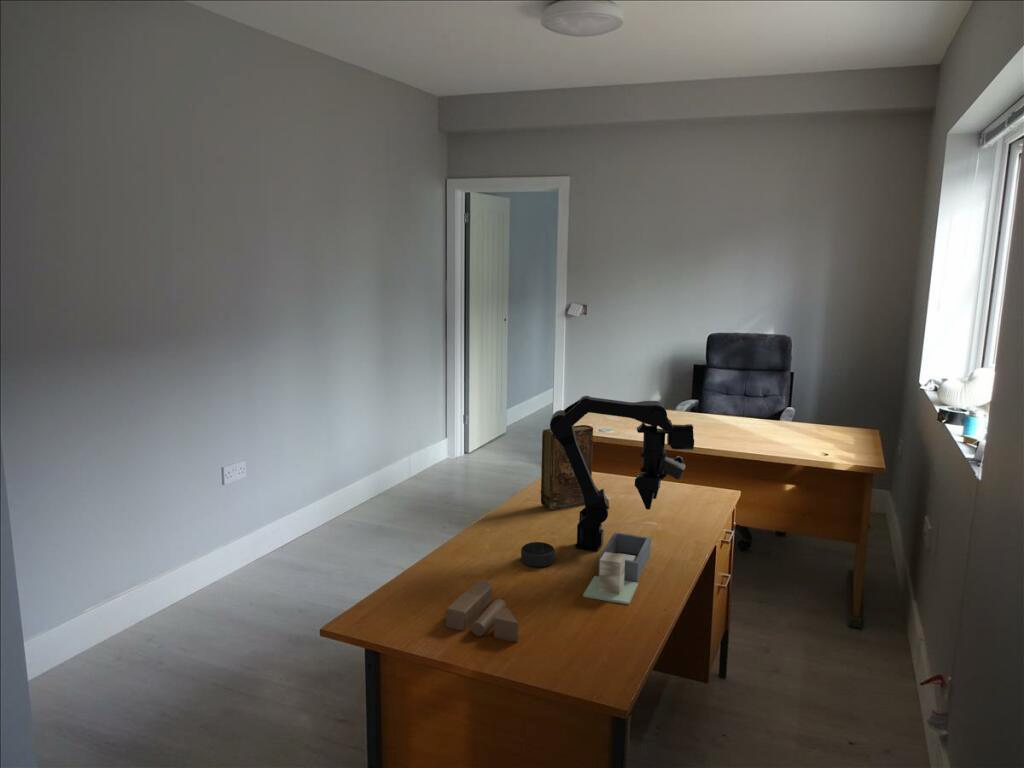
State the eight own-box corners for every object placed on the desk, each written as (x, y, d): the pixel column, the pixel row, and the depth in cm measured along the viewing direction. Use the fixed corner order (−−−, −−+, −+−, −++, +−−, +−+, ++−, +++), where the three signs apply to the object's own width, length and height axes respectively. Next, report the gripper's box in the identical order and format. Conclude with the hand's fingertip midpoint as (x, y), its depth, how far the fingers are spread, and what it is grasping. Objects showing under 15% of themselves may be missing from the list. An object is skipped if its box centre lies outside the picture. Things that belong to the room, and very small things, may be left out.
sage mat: (583, 596, 182) (583, 594, 182) (594, 578, 192) (594, 575, 192) (628, 604, 178) (629, 602, 178) (638, 585, 188) (638, 582, 188)
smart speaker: (514, 561, 201) (514, 547, 201) (536, 552, 208) (536, 538, 207) (539, 571, 195) (539, 557, 195) (561, 561, 202) (561, 547, 201)
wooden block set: (443, 606, 165) (478, 573, 182) (443, 630, 166) (478, 595, 183) (516, 621, 159) (545, 586, 175) (515, 646, 160) (545, 609, 176)
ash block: (598, 590, 183) (599, 559, 182) (603, 582, 188) (605, 551, 187) (619, 594, 182) (620, 562, 180) (623, 585, 186) (625, 554, 185)
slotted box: (597, 575, 193) (598, 557, 192) (613, 549, 210) (614, 532, 209) (637, 582, 190) (638, 563, 189) (650, 554, 206) (651, 537, 205)
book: (584, 498, 251) (586, 424, 246) (593, 503, 246) (595, 428, 241) (540, 505, 243) (542, 429, 239) (549, 511, 239) (550, 433, 234)
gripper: (679, 460, 194) (676, 519, 196) (688, 443, 211) (685, 497, 214) (635, 456, 197) (633, 513, 200) (648, 439, 215) (646, 492, 217)
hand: (651, 503), depth 208 cm, fingers open, 9 cm apart
